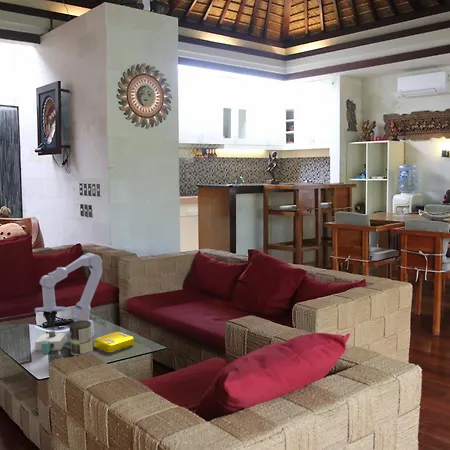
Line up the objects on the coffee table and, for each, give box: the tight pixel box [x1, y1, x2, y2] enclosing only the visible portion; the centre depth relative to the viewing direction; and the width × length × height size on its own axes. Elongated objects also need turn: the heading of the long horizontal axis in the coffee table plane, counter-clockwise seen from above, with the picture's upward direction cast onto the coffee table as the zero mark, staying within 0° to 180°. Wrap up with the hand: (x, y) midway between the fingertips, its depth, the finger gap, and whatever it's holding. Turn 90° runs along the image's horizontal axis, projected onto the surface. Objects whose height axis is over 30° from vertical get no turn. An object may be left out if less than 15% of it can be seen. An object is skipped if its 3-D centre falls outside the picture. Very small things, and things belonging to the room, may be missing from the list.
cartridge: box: [41, 341, 53, 355], centre depth 274 cm, size 14×3×5 cm, turn 0°
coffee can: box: [68, 320, 94, 357], centre depth 268 cm, size 10×10×14 cm
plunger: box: [48, 330, 56, 337], centre depth 280 cm, size 3×3×2 cm
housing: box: [34, 332, 68, 352], centre depth 278 cm, size 12×12×4 cm
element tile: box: [93, 331, 135, 352], centre depth 276 cm, size 15×15×5 cm
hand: (51, 325), depth 279 cm, fingers closed
